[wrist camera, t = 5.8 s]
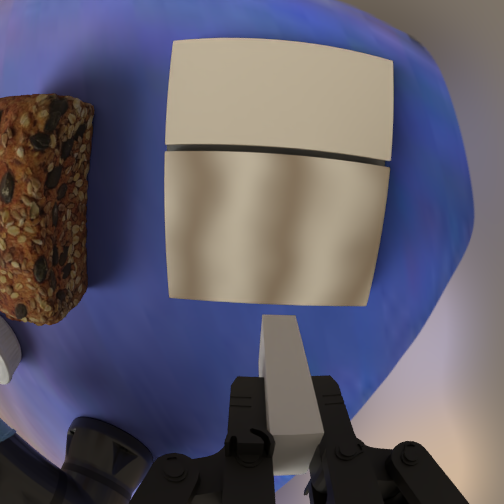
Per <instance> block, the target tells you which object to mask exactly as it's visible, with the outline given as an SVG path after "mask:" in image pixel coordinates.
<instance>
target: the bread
mask: <svg viewBox="0 0 504 504" xmlns="http://www.w3.org/2000/svg"><path fill="white" fill-rule="evenodd" d="M93 116H94V105H91V104H89V103H85V102H82V101H81V100H79V99H78V98H73V97H72V96H59V95H57V94H33V95H21V96H9V97H3V98H0V311H1V312H2V313H5V314H6V317H7V318H9V319H11V320H17V321H23V322H27V321H28V322H30V323H32V322H33V323H34V324H36V325H37V326H42V325H44V324H47V325H52V324H56V323H58V322H59V321H61V320H62V319H63V318H64V317H66V315H67V314H68V312H69V311H70V310H71V309H73V308H74V307H75V306H77V305H78V303H79V302H80V301H81V299H82V297H83V295H84V294H85V293H86V290H87V285H88V277H87V267H86V257H87V249H86V247H85V244H86V237H87V229H86V222H87V220H86V212H87V207H86V204H87V189H88V181H87V180H86V177H87V174H88V172H89V165H90V154H91V141H92V134H93V127H92V120H93Z"/></svg>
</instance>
